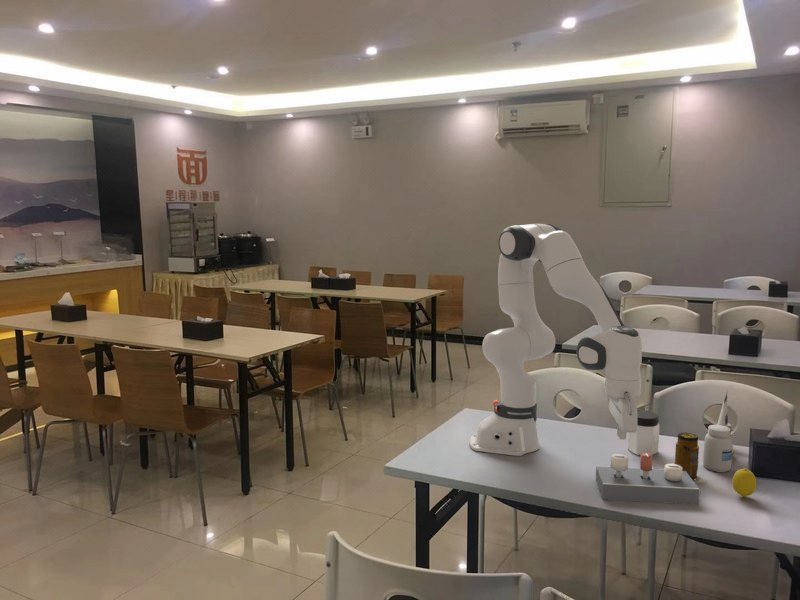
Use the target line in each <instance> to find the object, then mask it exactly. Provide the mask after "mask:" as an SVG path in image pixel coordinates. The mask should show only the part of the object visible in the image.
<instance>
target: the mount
mask: <svg viewBox="0 0 800 600" xmlns="http://www.w3.org/2000/svg"><path fill="white" fill-rule="evenodd" d="M595 482H596V485H597V487H598V490H599V493H600V495H601V498H602V500H612V501H613V500H614V501H632V502H648V503H651V502H652V503H662V502H663V503H664V504H665V502H666V503H668V504H682V505H685V504H686V505H699V502H700V488H699V487H698V486H697V484H696V483H695V482H693V480H692V479H691V477H690V476H689V475H688V473H687V472H686V471H682V480H680V481H670V480H668V479H666V478H665V477H664V469H655V468H654V469H653V468H652V471H649V475H648V480H645V479H643V470H641V469H640V468H633V467H632V468H630V467H628V469H627V470H625V471H622V474H621V478H616V470H614V469H612V468H611V466H595Z"/></svg>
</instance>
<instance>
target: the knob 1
mask: <svg viewBox="0 0 800 600" xmlns="http://www.w3.org/2000/svg"><path fill="white" fill-rule="evenodd" d="M628 465H629V457H628V456H627V455H625V454H621V453H613V454H611V456H610V467H611V468H612V469H614V470H616V478H621V474H622V471H625V470H627V469H628V468H629V467H628Z"/></svg>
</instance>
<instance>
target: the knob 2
mask: <svg viewBox="0 0 800 600" xmlns="http://www.w3.org/2000/svg"><path fill="white" fill-rule="evenodd" d="M663 470H664V477H665V478H666V479H668V480H670V481H680V480H682V467H681V466H679V465H677V464H675V463H666V464H665V465H664V468H663Z"/></svg>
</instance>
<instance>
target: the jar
mask: <svg viewBox="0 0 800 600" xmlns="http://www.w3.org/2000/svg"><path fill="white" fill-rule="evenodd" d="M659 420H660V419H659V414H657V413H655V412H653V411H649V410H637V431H636V432H635V433H629V432H628V438H627V441H628V442H627V450H628V451H630V452H631V453H633V454H635V455H636V456H637V455H638V456H641V453H650V454H652V455H653V456H654V455H656V454H658V453H659V444H660V443H659V441H660V440H659V439H660V423H659Z"/></svg>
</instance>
